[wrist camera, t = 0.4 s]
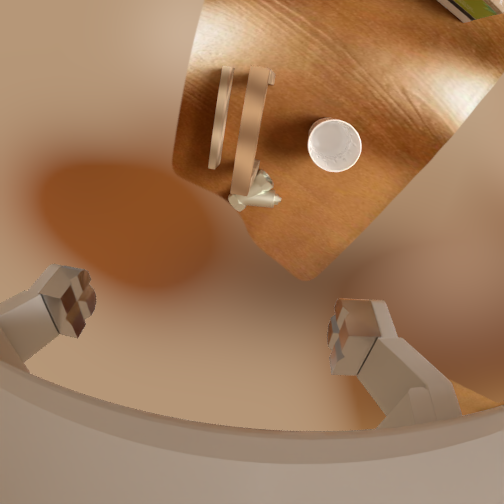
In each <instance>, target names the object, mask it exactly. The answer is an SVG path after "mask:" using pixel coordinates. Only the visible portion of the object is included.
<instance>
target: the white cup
mask: <svg viewBox="0 0 504 504" xmlns="http://www.w3.org/2000/svg"><path fill="white" fill-rule="evenodd" d="M308 151H309V155H310V157H311V159H312V160H313V162H314V163H315V164H316V165H317V166H319V167H320V168H322V169H324V170H326V171H330V172H341V171H344V170H347V169H349V168H350V167H352V166H353V165H354V164H355V163H356V161H357V160H358V158H359V156H360V153H361V140H360V137H359V134H358V133H357V131H356V130H355V129H354V128H353V127H352V126H351V125H350V124H348V123H347V122H344V121H342V120H338V119H335V118H321V119H319V120H317V121H316V122H314V123H313V124H312V126H311V128H310V130H309V133H308Z"/></svg>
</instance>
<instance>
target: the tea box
mask: <svg viewBox="0 0 504 504" xmlns="http://www.w3.org/2000/svg"><path fill="white" fill-rule="evenodd" d="M437 1H438V2H439V3H440V4H442V5H443V6H444V7H445V8H447V9H448V10H449V11H450V12H451V13H453V14H454V15H455V16H456V17H457V18H458V19H460V20H461V21H462V22H463V23H464V22H469V21H472V20H476V19H480V18H484V17H488V16H492V15H497V14H501V13H503V12H504V0H437Z"/></svg>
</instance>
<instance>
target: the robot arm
mask: <svg viewBox="0 0 504 504" xmlns="http://www.w3.org/2000/svg"><path fill="white" fill-rule="evenodd" d="M90 281H91V278H90V275H89V273H88V271H86V270H85V269H79V268H74V267H69V266H62V265H57V264H52V265H50V266H49V267H48V268H47V269H46V270H45V271H44V272H43V273H42V275H41V276H40V277H39V278H38V279H37V281H35V283H34V284H33V285H32V286H31V288H30V289H29V290H28V291H23V292H21V293H19V294H17V295H15V296H13V297H12V298H9V299H8V300H6V301H4V302H2V303H0V504H504V405H503V406H500V407H496V408H492V409H489V410H485V411H481V412H477V413H473V414H469V415H465V416H462V413H461V410H460V407H459V403H458V400H457V397H456V394H455V391H454V388H453V385H452V383H451V382H450V381H449V380H448V379H447V378H446V377H445V376H444V375H443V374H442V373H440V372H439V371H438V370H437V369H436V368H435V367H434V366H433V365H432V364H431V363H430V362H428V361H427V360H426V359H425V358H424V357H423V356H422V355H421V354H420V353H418V352H417V351H416V350H415V349H414V348H413V347H412V346H411V345H410V344H408V343H407V342H406V341H405V340H404V339H403V338H398V337H397V333H396V330H395V327H394V325H393V322H392V319H391V316H390V314H389V311H388V308H387V305H386V303H385V301H383V300H361V299H344V298H338V300H337V301H336V304H335V307H334V310H335V315H334V316H333V317H331V319H330V322H329V325H328V332H327V342H328V347H329V348H330V349H331V350H332V352H331V355H330V357H329V359H330V367H331V374H332V375H357V378H358V379H359V380H360V382H361V383H362V384H363V386H364V387H365V388H366V390H367V391H368V392H369V394H370V395H371V396H372V398H373V399H374V400H375V401H376V403H377V404H378V405H379V407H380V408H381V409H382V411H383V412H384V413H385V415H386V416H387V417H386V418H385V419H384V420H383V421H382V422H381V424H379V426H378V427H377V428H376V429H369V430H354V431H353V430H352V431H282V430H281V431H280V430H265V429H252V428H242V427H232V426H224V425H216V424H209V423H202V422H196V421H189V420H184V419H179V418H174V417H169V416H164V415H159V414H154V413H150V412H146V411H141V410H137V409H133V408H129V407H125V406H122V405H118V404H114V403H111V402H107V401H104V400H101V399H98V398H94V397H91V396H88V395H85V394H82V393H79V392H76V391H73V390H70V389H68V388H65V387H62V386H60V385H57V384H54V383H52V382H49V381H46V380H44V379H41V378H39V377H37V376H34V375H32V374H30V372H29V370H28V369H27V367H26V366H25V364H24V362H25V361H26V360H28V359H29V358H30V357H32V356H33V355H34V354H35V353H37V352H38V351H39V350H40V349H42V348H43V347H44V346H46V345H47V344H48V343H49V342H51V341H52V340H53V339H54V338H56V337H57V336H58V335H59V334H62V335H66V336H70V337H74V338H78V337H79V335H80V334H81V332H82V330H83V329H84V327H85V325H86V323H85V319H86V318H88V317H90V316H91V315H92V313H93V311H94V310H95V305H96V294H95V291H94V289H93V288H92V287H91V286H90V285H89V283H90Z"/></svg>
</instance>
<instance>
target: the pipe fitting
mask: <svg viewBox="0 0 504 504" xmlns="http://www.w3.org/2000/svg"><path fill="white" fill-rule="evenodd" d="M273 186H274V183H273V181H272V179H271V178H270V176H269V175H268V174H267V173H266V172H265V171H263V170H260V171H259V172H257V174H256V177H255V179H254V181H253V184H252V186H251V188H250V191H249V193H248V195H247V196H241V195H236V194H231V193H230V194H229V196H228V200H229V202H230V204H231V205H232V207H233V208H234V209H236V210H237V211H242V210H243V209H244V208H246V205H251V206H260V207H270V208H273V207H274V204H276V205H277V204H278V202H281V197H279V195H278V194H275V190H270V189H271V188H273Z"/></svg>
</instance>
